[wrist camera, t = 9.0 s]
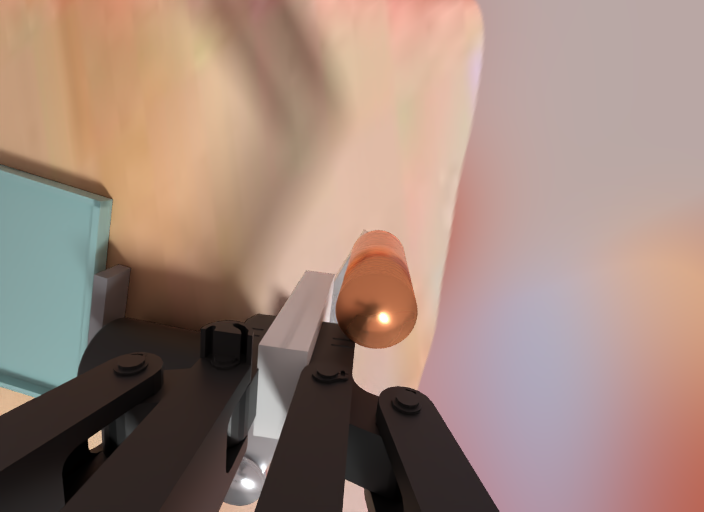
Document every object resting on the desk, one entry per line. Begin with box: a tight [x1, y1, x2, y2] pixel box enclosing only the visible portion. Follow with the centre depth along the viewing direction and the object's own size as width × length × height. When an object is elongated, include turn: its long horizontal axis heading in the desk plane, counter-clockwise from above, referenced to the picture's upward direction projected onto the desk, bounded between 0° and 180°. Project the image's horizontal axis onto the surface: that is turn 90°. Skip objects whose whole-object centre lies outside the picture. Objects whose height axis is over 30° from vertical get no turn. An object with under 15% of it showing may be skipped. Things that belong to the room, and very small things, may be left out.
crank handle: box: [223, 230, 417, 506], centre depth 16 cm, size 3×18×8 cm, turn 150°
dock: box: [87, 264, 131, 346], centre depth 26 cm, size 11×16×8 cm
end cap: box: [77, 318, 201, 430], centre depth 27 cm, size 10×7×7 cm
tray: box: [0, 164, 113, 398], centre depth 29 cm, size 19×14×1 cm
